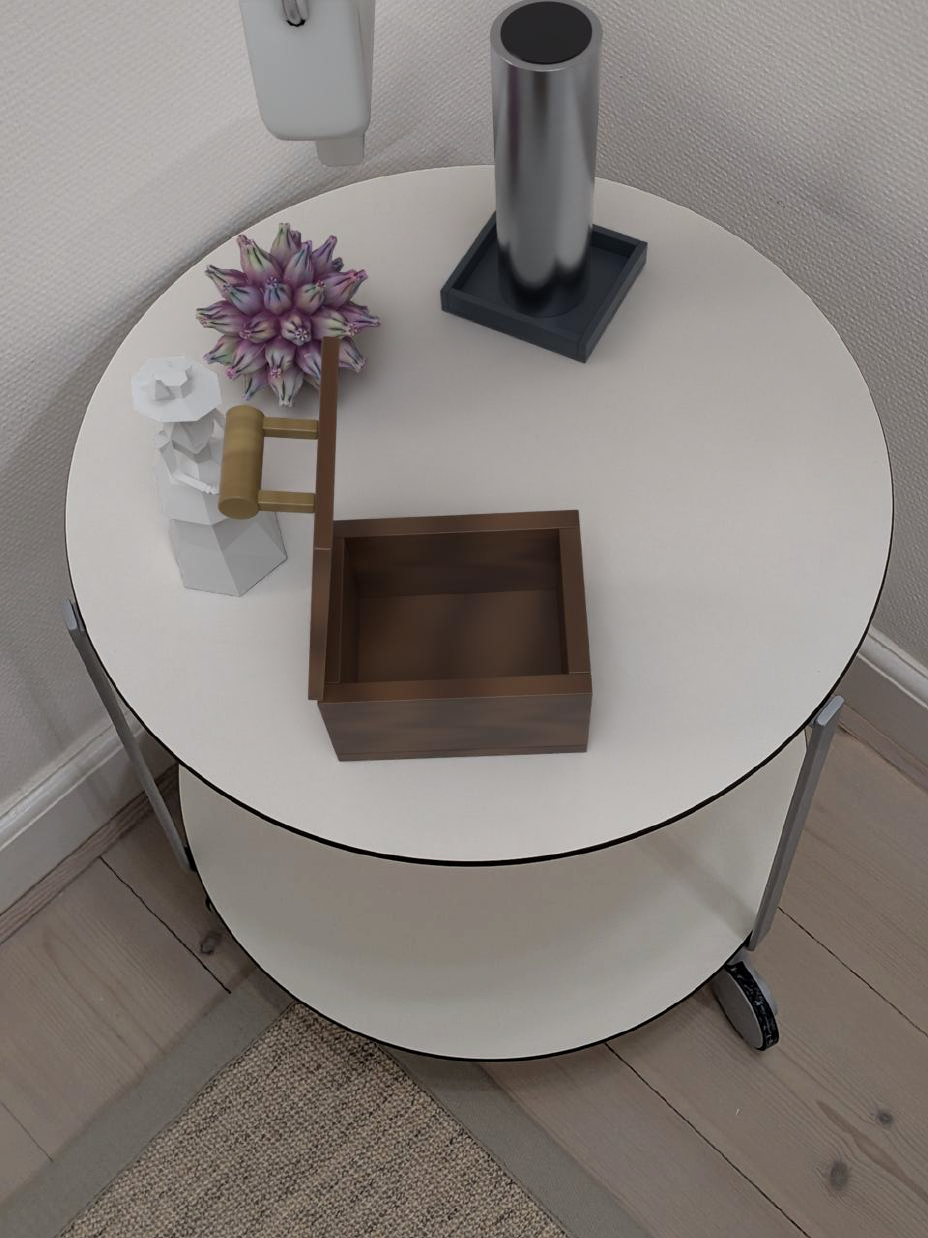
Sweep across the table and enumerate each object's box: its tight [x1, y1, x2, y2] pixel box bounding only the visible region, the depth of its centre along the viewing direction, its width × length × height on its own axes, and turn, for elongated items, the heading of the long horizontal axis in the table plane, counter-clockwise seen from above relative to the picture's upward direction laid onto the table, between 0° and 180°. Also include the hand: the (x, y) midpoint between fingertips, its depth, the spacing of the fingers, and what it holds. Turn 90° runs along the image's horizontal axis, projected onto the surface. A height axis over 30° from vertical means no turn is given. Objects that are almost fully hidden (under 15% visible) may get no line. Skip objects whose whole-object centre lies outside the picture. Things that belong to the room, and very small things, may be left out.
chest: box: [316, 509, 593, 762], centre depth 71 cm, size 14×11×8 cm
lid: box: [218, 336, 340, 701], centre depth 60 cm, size 15×11×5 cm
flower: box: [194, 222, 381, 409], centre depth 81 cm, size 12×12×12 cm
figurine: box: [130, 355, 288, 598], centre depth 71 cm, size 7×8×18 cm
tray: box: [439, 209, 649, 364], centre depth 87 cm, size 11×10×2 cm
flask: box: [489, 0, 604, 317], centre depth 79 cm, size 6×6×20 cm
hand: (347, 72), depth 51 cm, fingers open, 8 cm apart
